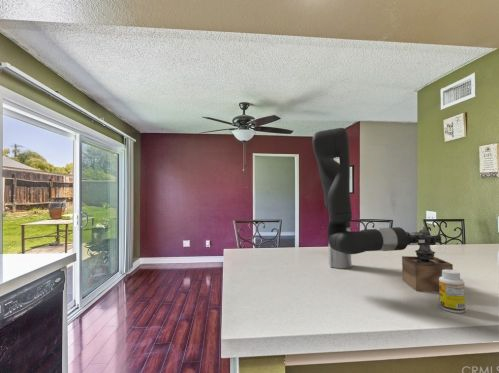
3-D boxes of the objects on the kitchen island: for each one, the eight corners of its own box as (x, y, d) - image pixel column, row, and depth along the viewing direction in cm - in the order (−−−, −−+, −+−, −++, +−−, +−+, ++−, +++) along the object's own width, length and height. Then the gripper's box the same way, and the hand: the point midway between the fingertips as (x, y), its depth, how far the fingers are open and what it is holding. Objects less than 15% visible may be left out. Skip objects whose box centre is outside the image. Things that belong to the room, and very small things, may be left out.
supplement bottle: (441, 303, 78) (439, 267, 79) (466, 308, 75) (464, 270, 75) (438, 310, 74) (437, 271, 75) (465, 315, 71) (463, 275, 71)
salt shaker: (439, 264, 91) (437, 227, 91) (419, 264, 92) (417, 227, 92) (431, 260, 96) (429, 226, 97) (412, 260, 98) (411, 226, 98)
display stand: (416, 291, 89) (415, 263, 90) (402, 280, 100) (401, 256, 100) (453, 292, 88) (452, 264, 88) (435, 281, 98) (434, 256, 99)
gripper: (404, 230, 85) (447, 228, 88) (373, 225, 99) (412, 224, 102) (405, 254, 84) (448, 251, 88) (374, 246, 98) (413, 244, 102)
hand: (429, 237), depth 95 cm, fingers open, 8 cm apart
